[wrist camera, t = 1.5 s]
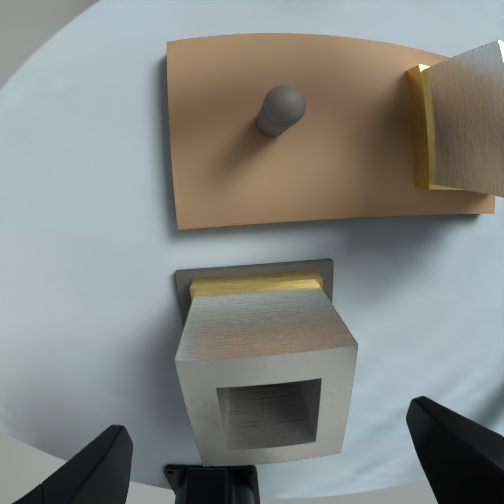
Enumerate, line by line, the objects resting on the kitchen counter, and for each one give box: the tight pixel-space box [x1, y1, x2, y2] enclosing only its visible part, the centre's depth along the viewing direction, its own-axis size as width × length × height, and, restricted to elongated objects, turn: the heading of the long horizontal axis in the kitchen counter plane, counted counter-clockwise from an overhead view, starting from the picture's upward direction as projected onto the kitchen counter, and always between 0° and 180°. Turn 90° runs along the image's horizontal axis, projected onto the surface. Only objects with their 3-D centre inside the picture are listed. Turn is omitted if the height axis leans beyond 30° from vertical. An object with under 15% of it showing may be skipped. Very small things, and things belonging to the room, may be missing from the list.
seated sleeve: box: [406, 40, 504, 197], centre depth 9 cm, size 5×5×6 cm
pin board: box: [167, 33, 495, 230], centre depth 10 cm, size 8×16×5 cm, turn 94°
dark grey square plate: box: [175, 259, 333, 327], centre depth 14 cm, size 7×7×2 cm
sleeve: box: [175, 269, 358, 466], centre depth 11 cm, size 5×5×6 cm
